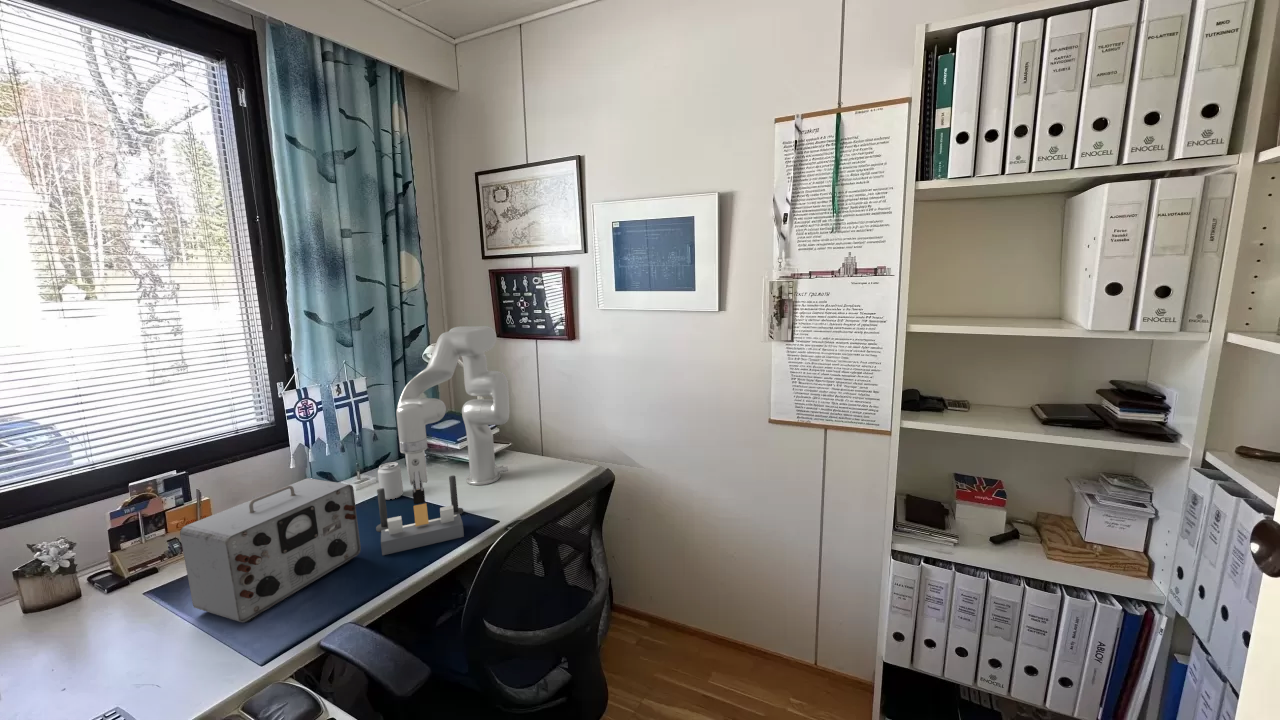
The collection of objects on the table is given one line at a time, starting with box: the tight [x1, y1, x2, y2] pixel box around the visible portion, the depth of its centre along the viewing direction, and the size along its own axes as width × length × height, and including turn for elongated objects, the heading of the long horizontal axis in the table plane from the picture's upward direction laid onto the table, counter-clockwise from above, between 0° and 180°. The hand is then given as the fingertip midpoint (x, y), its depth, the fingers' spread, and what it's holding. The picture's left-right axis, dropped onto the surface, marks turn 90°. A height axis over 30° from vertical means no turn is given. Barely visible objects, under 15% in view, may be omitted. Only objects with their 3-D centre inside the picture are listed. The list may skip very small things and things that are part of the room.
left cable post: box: [375, 488, 388, 533], centre depth 158 cm, size 5×5×13 cm
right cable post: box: [448, 475, 464, 515], centre depth 167 cm, size 5×5×13 cm
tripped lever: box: [413, 502, 429, 527], centre depth 152 cm, size 4×1×6 cm, turn 116°
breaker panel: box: [380, 514, 465, 556], centre depth 151 cm, size 22×8×4 cm, turn 116°
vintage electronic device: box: [179, 477, 362, 623], centre depth 129 cm, size 32×18×25 cm, turn 160°
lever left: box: [387, 515, 403, 535], centre depth 146 cm, size 4×1×6 cm, turn 116°
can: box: [377, 461, 404, 501], centre depth 183 cm, size 8×8×12 cm
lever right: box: [439, 504, 454, 523], centre depth 152 cm, size 4×1×6 cm, turn 116°
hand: (419, 502), depth 156 cm, fingers closed
